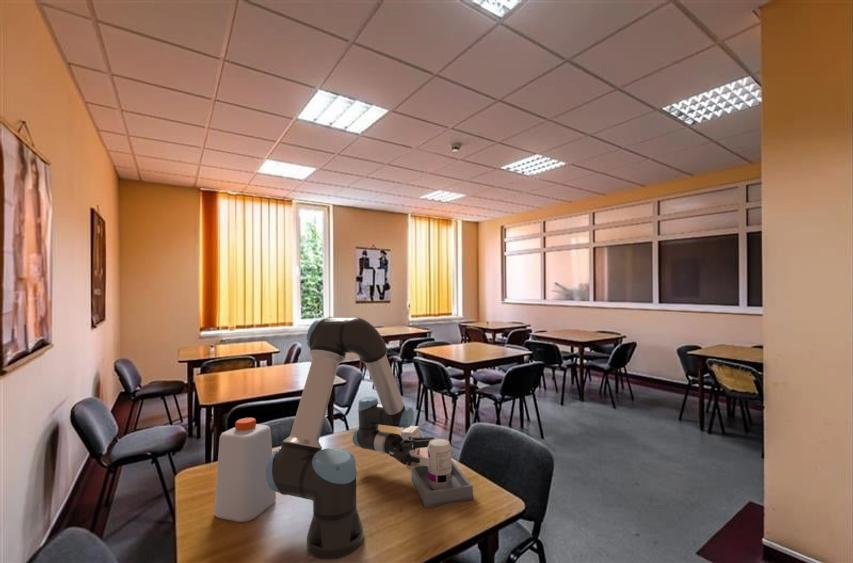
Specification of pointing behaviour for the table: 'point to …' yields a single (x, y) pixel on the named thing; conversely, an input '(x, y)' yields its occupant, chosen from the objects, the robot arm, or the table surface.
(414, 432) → the ink box
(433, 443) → the supplement can
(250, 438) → the plastic bottle
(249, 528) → the table surface
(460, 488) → the tote
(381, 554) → the table surface
